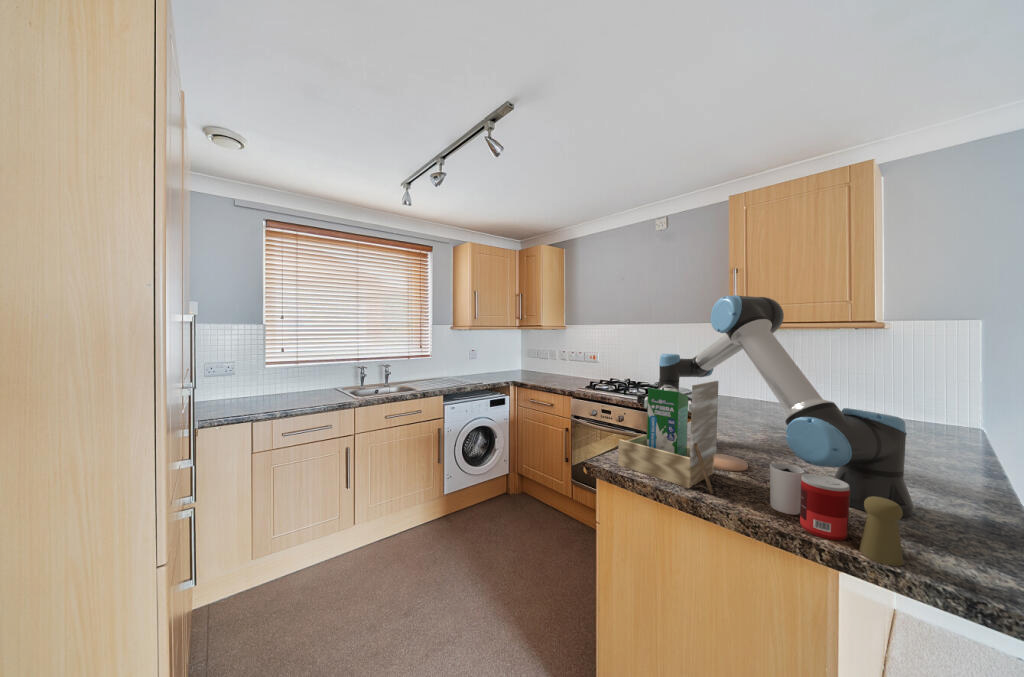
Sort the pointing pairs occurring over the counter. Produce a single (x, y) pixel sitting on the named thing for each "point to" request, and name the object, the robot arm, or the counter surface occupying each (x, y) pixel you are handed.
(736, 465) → the peach round coaster
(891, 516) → the cork
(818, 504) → the canned food
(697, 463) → the cold frame
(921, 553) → the counter surface
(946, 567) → the counter surface
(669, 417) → the milk carton
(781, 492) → the white cylindrical container
